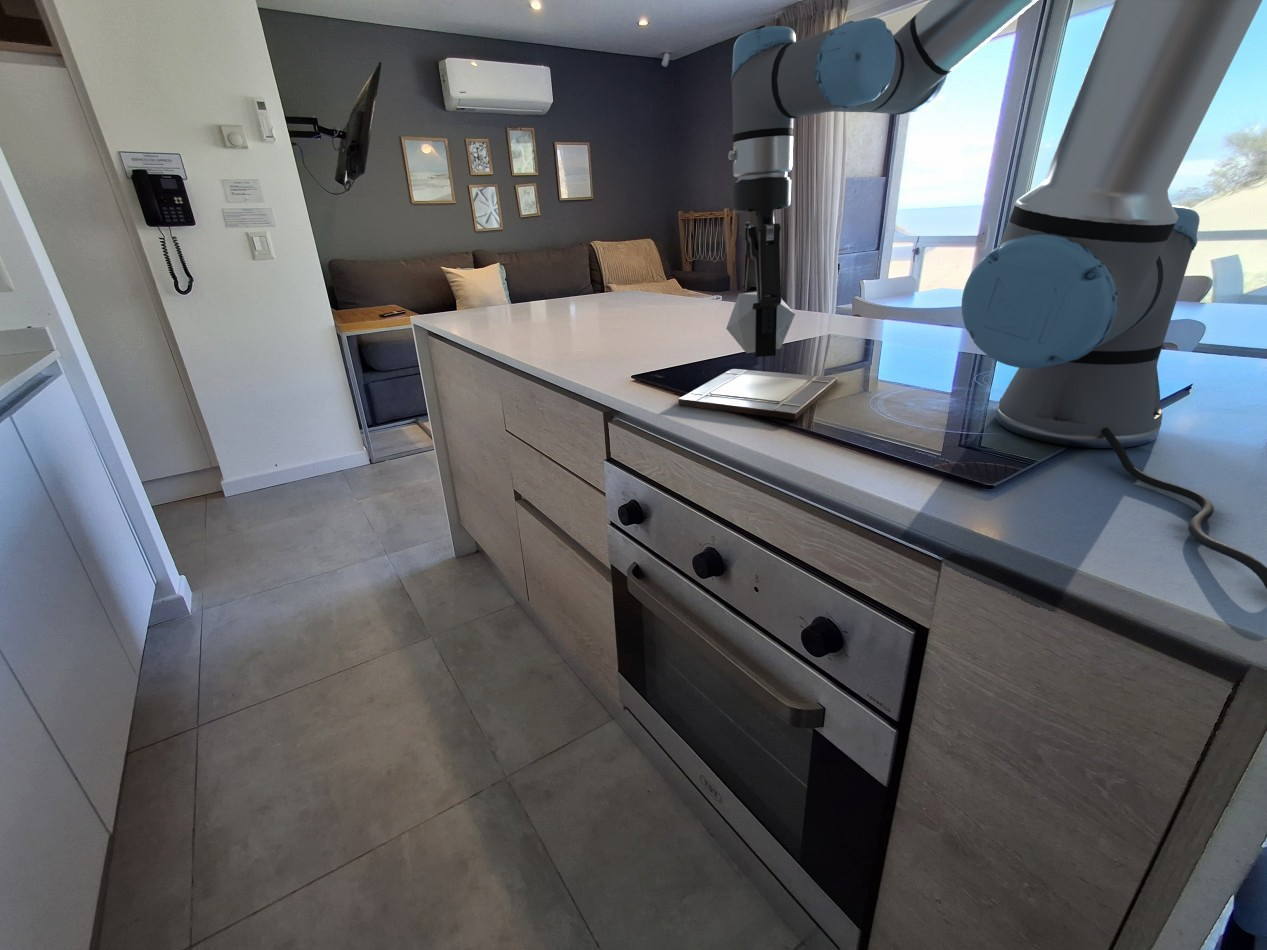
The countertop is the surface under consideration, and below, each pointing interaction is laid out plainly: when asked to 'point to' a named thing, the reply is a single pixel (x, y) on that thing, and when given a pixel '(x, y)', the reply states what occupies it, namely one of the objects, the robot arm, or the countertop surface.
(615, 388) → the countertop surface
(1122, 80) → the robot arm
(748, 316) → the die
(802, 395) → the board
